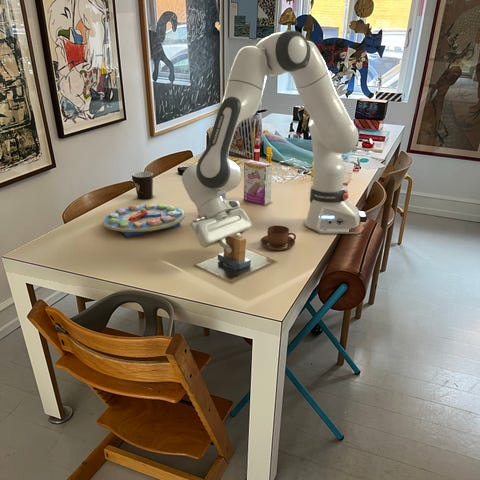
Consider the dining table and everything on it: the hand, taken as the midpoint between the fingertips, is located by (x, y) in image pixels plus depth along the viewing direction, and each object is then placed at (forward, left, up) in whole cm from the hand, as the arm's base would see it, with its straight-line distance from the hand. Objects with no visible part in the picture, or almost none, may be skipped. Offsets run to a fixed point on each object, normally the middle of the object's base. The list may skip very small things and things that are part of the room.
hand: (236, 250), depth 151 cm
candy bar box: (+5, -62, -5) cm, 62 cm away
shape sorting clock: (+42, -27, -5) cm, 50 cm away
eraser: (+1, 0, -5) cm, 5 cm away
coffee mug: (+55, -58, -5) cm, 80 cm away
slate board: (0, -1, -5) cm, 5 cm away
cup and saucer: (-11, -18, -5) cm, 21 cm away
